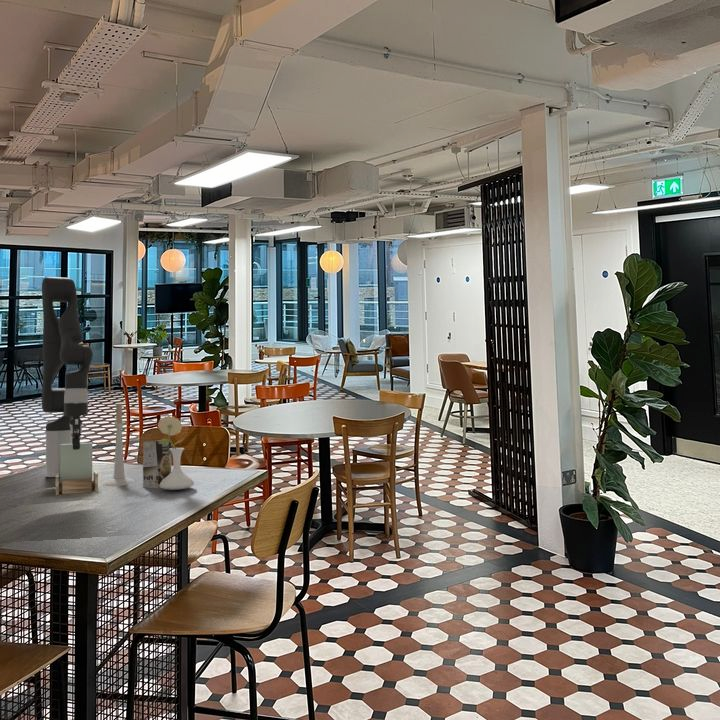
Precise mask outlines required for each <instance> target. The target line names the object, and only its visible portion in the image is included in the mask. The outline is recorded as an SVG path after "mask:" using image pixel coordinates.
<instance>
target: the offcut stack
mask: <svg viewBox="0 0 720 720" xmlns="http://www.w3.org/2000/svg"><path fill="white" fill-rule="evenodd" d="M92 481H93V477H92V478H78V479H64V480H62V492H61V494H62V495H67V494H69V495H70V494H77V493H78V494H80V493H91V492H92V491H93V490H92Z"/></svg>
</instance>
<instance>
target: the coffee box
mask: <svg viewBox="0 0 720 720" xmlns="http://www.w3.org/2000/svg"><path fill="white" fill-rule="evenodd" d="M160 440H161V439H159V440H148V441H143V443H142V446H143V447H142V448H143V450H142V454H143V456H142V488H149V489H150V488H151V489H155V488H156V489H159V488H161V487H160V486H159V485H160V483H161V482H162V480H163V479H165V478H166V477H167V476H168V475H169V474H170V473H171V472H172V453H171V451H170V450H169V449H170V448H172V444H171V442H172V441H171V442H169V443H168V444H167V445H163V444H158V443H159V441H160Z"/></svg>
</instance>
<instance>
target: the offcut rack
mask: <svg viewBox="0 0 720 720" xmlns="http://www.w3.org/2000/svg"><path fill="white" fill-rule="evenodd" d="M92 491H94V492H99V473H98V472H97V470H92ZM60 493H61V494H62V485H60V477H59V475H58V473H56V477H55V495H56V496H57V495H58V496H59V494H60Z"/></svg>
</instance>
